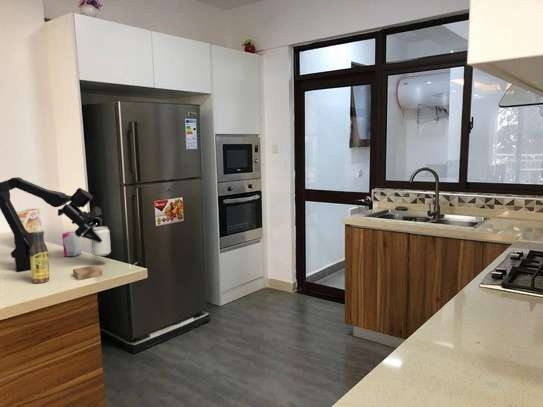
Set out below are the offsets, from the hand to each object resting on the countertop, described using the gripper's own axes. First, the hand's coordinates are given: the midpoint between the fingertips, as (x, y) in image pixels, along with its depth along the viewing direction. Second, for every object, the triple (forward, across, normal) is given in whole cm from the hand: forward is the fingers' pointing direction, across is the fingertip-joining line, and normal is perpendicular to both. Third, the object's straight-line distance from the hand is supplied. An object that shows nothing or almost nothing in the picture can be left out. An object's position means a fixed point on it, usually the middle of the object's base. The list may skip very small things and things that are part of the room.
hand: (104, 239), depth 184 cm
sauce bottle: (-4, -20, +22) cm, 30 cm away
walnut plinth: (+6, -14, +10) cm, 19 cm away
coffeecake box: (-31, +50, +49) cm, 76 cm away
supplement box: (-7, +22, +24) cm, 34 cm away
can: (+4, 0, +6) cm, 7 cm away
